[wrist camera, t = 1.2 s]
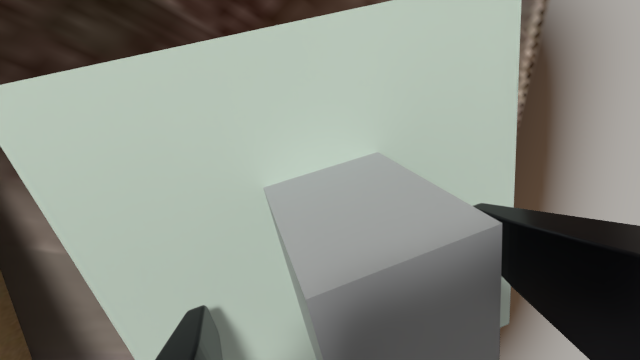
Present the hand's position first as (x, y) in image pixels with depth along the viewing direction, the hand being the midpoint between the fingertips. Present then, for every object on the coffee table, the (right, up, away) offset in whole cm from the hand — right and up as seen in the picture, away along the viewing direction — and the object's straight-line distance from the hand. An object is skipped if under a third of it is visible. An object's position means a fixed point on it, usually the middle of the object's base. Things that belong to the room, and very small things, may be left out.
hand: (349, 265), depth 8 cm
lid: (-1, +1, +2) cm, 3 cm away
